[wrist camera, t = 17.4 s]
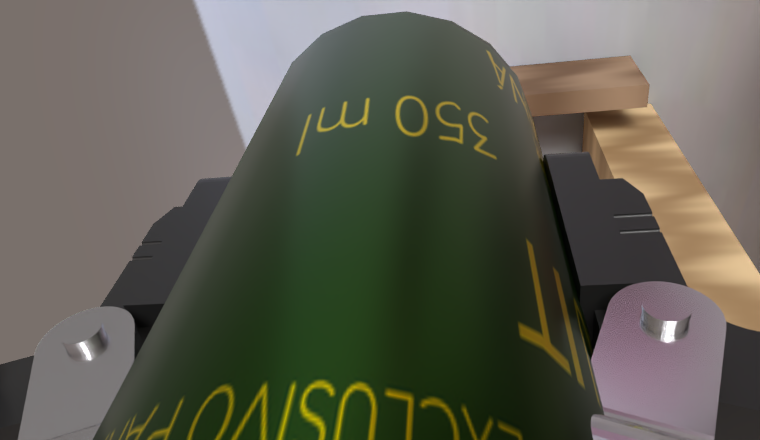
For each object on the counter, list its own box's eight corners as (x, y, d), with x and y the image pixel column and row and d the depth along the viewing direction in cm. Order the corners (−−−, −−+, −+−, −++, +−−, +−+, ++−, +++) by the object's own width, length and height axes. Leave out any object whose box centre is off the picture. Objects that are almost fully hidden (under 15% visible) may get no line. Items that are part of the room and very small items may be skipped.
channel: (630, 55, 36) (649, 84, 32) (617, 203, 41) (633, 241, 37) (443, 72, 37) (443, 102, 34) (454, 213, 42) (455, 251, 39)
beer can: (324, 247, 16) (137, 988, 6) (239, 39, 13) (-332, 774, 4) (546, 205, 15) (746, 1032, 5) (503, -34, 12) (757, 765, 2)
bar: (650, 103, 37) (806, 347, 21) (644, 160, 39) (782, 421, 23) (584, 109, 37) (688, 351, 22) (581, 164, 39) (674, 423, 24)
